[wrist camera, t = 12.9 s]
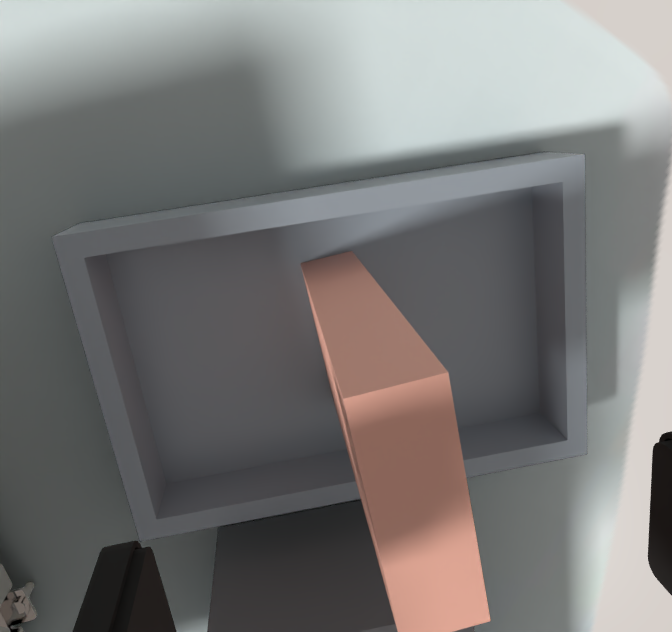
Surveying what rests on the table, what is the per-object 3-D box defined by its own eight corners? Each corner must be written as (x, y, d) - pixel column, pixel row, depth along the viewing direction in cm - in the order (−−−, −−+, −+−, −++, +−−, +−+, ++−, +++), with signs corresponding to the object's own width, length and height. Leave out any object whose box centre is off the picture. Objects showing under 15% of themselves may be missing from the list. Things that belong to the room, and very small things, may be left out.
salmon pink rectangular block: (300, 263, 22) (343, 398, 11) (351, 250, 22) (448, 372, 11) (334, 403, 24) (401, 646, 13) (381, 391, 24) (490, 620, 13)
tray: (78, 223, 21) (51, 236, 18) (544, 151, 23) (584, 154, 20) (153, 495, 25) (140, 541, 22) (551, 419, 26) (587, 454, 23)
